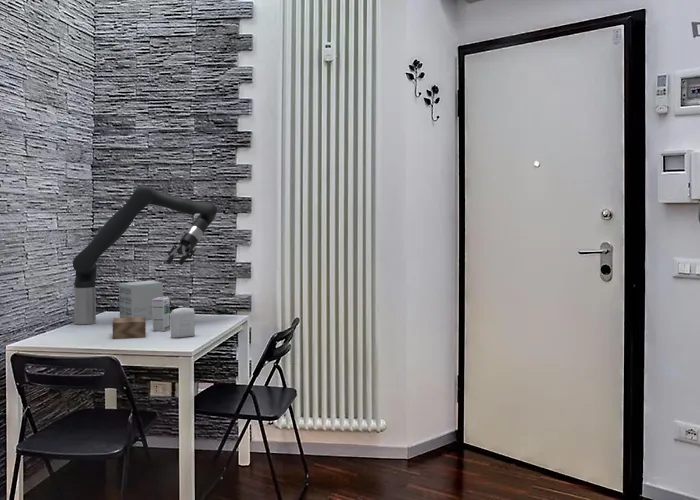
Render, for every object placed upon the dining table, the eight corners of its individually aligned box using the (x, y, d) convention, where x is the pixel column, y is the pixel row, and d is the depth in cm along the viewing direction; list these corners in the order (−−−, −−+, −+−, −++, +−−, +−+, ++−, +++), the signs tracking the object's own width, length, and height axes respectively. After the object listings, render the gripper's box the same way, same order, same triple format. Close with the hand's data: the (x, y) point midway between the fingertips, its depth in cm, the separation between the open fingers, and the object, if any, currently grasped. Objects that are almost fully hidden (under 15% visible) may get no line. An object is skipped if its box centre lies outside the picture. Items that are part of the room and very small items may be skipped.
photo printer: (192, 334, 291) (192, 306, 291) (196, 336, 288) (196, 307, 287) (169, 337, 285) (169, 308, 285) (173, 338, 282) (172, 309, 281)
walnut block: (112, 339, 280) (112, 322, 280) (114, 334, 293) (114, 318, 293) (145, 338, 284) (145, 321, 284) (145, 332, 297) (145, 317, 296)
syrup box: (164, 331, 299) (164, 298, 298) (152, 330, 300) (151, 298, 300) (170, 329, 305) (170, 297, 304) (158, 328, 306) (158, 296, 305)
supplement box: (150, 315, 345) (150, 280, 344) (164, 318, 336) (163, 282, 335) (118, 319, 333) (118, 282, 332) (131, 322, 324) (131, 284, 323)
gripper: (177, 232, 323) (158, 257, 315) (197, 232, 315) (179, 258, 306) (186, 242, 328) (168, 268, 319) (206, 242, 320) (188, 269, 311)
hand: (173, 263), depth 313 cm, fingers open, 8 cm apart
